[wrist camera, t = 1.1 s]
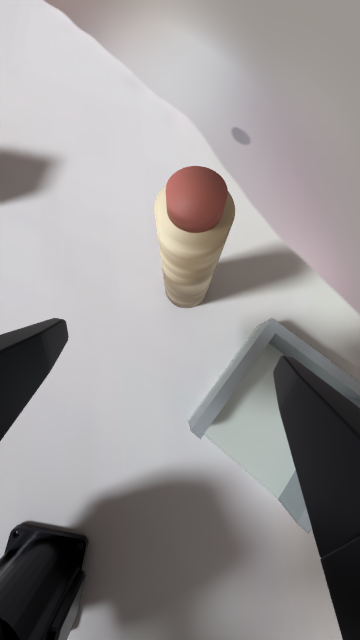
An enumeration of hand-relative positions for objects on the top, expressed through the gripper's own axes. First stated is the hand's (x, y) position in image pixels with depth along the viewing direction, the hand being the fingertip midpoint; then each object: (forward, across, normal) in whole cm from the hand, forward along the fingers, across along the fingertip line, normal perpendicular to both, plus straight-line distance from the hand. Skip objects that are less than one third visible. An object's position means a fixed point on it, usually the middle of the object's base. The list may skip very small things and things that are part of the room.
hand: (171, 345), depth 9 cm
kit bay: (+7, -10, +11) cm, 17 cm away
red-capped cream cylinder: (+15, 0, +4) cm, 16 cm away
